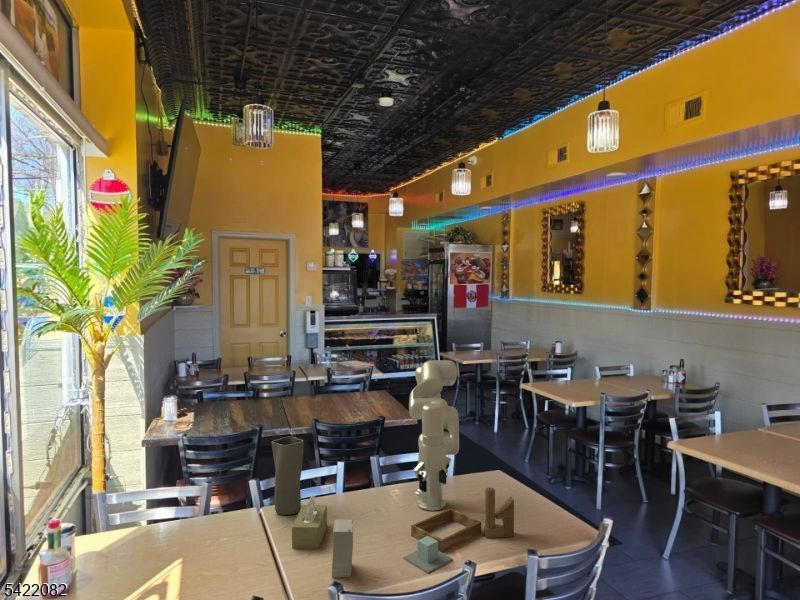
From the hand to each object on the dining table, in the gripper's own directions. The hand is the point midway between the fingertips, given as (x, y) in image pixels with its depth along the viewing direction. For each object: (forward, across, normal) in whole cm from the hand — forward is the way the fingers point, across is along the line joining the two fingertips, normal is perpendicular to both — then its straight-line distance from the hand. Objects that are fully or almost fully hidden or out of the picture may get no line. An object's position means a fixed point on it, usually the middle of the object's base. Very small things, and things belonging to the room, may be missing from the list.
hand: (432, 486), depth 180 cm
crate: (+24, -13, -6) cm, 28 cm away
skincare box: (+24, +31, -12) cm, 41 cm away
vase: (+25, +22, -64) cm, 72 cm away
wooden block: (+24, -27, +8) cm, 37 cm away
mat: (+24, +5, +2) cm, 24 cm away
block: (+23, +5, +2) cm, 24 cm away
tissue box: (+24, +27, -39) cm, 53 cm away
